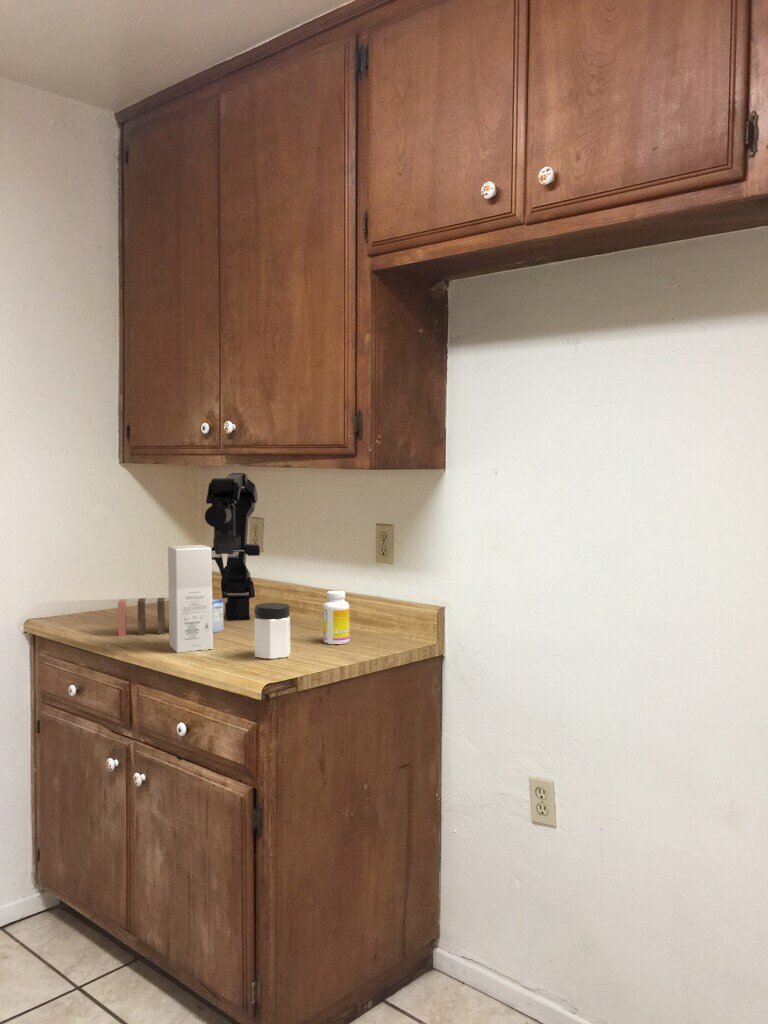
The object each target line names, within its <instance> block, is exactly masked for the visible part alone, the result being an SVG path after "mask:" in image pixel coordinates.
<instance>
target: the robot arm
mask: <svg viewBox="0 0 768 1024" xmlns="http://www.w3.org/2000/svg"><path fill="white" fill-rule="evenodd" d="M208 483H209V484H208V487H207V495H206V500H205V504H207V505H210V504H211V506H209V507H208V508H207V509H206V511H205V513H204V519H205V522H206V523H207V525H209V526H210V527H213V546H212V547H211V546H209V547H210V548H211V555H212V561H213V560H214V561H215V563H216V565H217V567H218V569H219V570H218V571H219V572H220V575H221V579H220V587H221V588H220V590H221V599H226V601H225V603H224V613H225V614H224V616H225V618H226V619H227V621H236V620H237V621H238V620H239V621H240V620H242V621H243V620H251V617H250V616H251V615H250V599H253V598H256V594H255V593H256V592H255V590H256V589H255V583H254V581H253V579H252V577H251V572H250V571H249V569H248V567H247V566H246V565H247V563H246V562H247V556H248V557H257V556H260V555H261V547H260V545H259V544H258V543H248V534H249V519H250V517H251V516H252V515H253V513H254V512H255V510H256V509H255V507H256V503H258V491H257V488H256V484H255V483H254V482H253V481H251V480H250V479H249V477H248V475H247V473H245V472H231V473H229V474H228V475H227V476H225V477H219V478H217V477H213V478H212V479H211V481H210V482H208ZM223 554H224V555H225V554H227V558H226V559H227V560H226V565H225V566H224V560H223V559H224V558H223Z"/></svg>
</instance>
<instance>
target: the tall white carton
mask: <svg viewBox="0 0 768 1024" xmlns="http://www.w3.org/2000/svg"><path fill="white" fill-rule="evenodd" d="M210 547H211V546H208V545H205V544H189V545H187V544H186V545H185V544H184V545H168V546H167V561H168V562H167V564H168V565H167V567H168V570H167V571H168V587H167V588H168V631H169V632H168V633H169V634H168V636H169V637H168V638H169V639H168V640H169V641H168V642H169V645H168V646H169V647H170V648H171V649H172V650H174V651H175V653H176V654H179V653H181V652H182V653H190V652H189V651H193V652H198V651H197V650H203V651H209V650H208V649H212V650H213V648H214V638H213V636H214V633H213V618H212V599H213V578H212V577H213V573H212V572H213V571H212V568H213V567H212V564H213V563H212V562H213V560H212V555H211V548H210Z"/></svg>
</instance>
